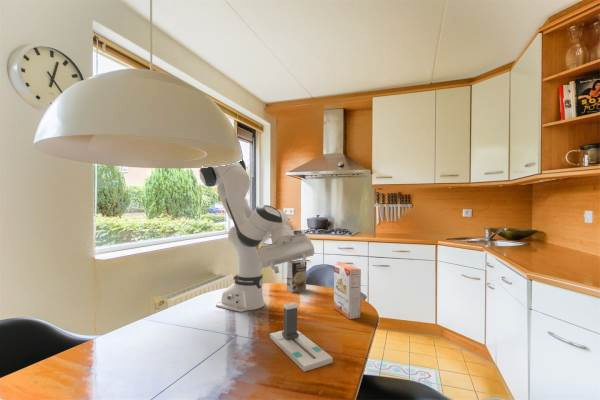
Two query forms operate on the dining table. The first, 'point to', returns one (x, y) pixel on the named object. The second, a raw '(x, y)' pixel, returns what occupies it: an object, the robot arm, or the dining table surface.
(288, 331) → the fader tab
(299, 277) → the coffee box
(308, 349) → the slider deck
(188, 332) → the dining table surface
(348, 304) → the cracker box
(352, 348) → the dining table surface
